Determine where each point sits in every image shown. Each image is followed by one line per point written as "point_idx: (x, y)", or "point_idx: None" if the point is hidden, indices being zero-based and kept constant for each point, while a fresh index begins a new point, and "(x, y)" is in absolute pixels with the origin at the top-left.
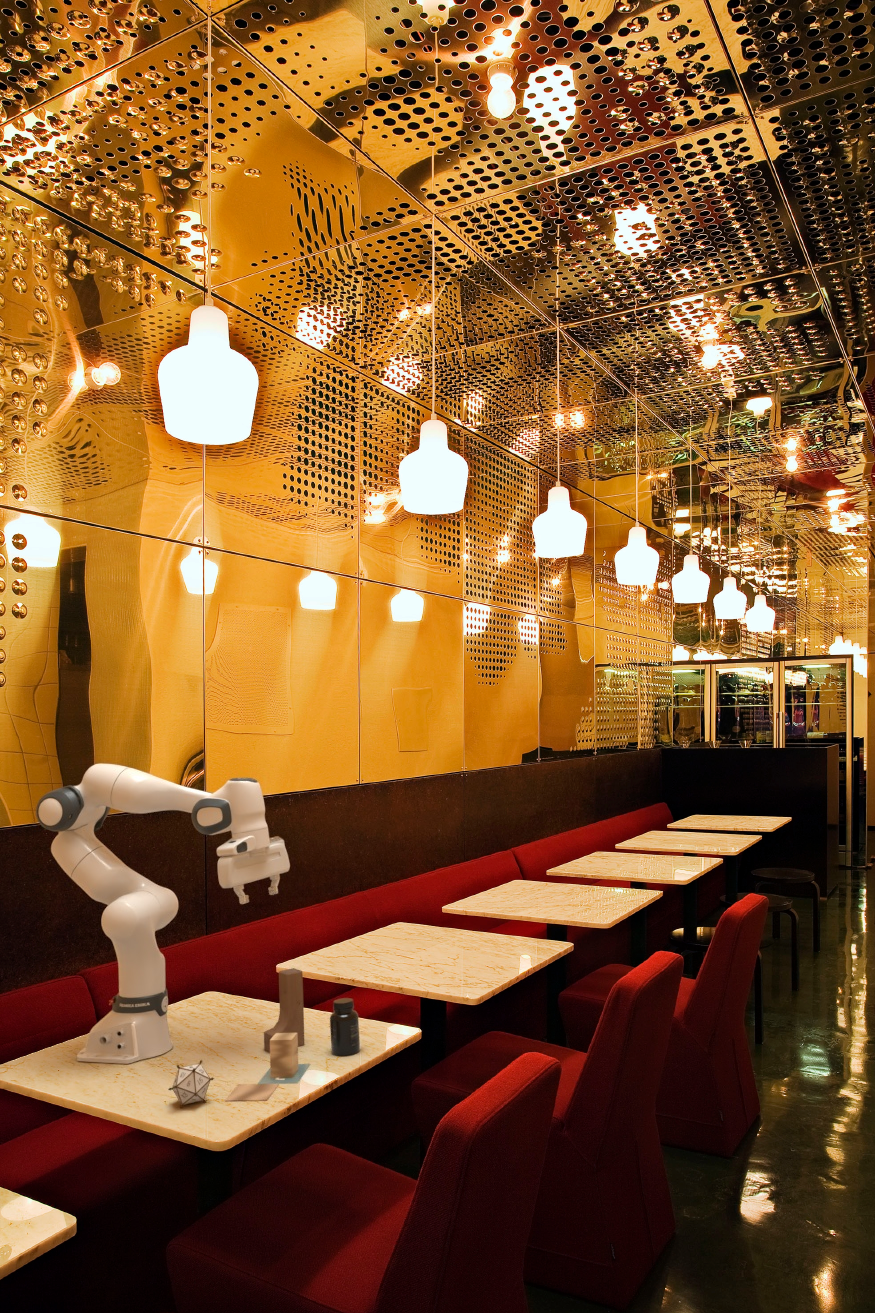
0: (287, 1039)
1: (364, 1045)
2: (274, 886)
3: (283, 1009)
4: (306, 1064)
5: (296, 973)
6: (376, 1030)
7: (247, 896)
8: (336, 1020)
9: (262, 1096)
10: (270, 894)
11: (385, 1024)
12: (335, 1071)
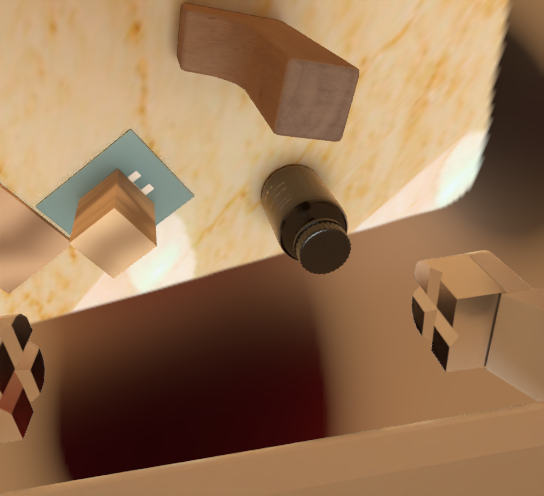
0: (106, 270)
1: (346, 186)
2: (493, 358)
3: (250, 64)
4: (185, 192)
5: (313, 138)
6: (441, 128)
7: (10, 433)
8: (279, 243)
9: (8, 275)
10: (418, 274)
11: (485, 111)
12: (202, 258)
